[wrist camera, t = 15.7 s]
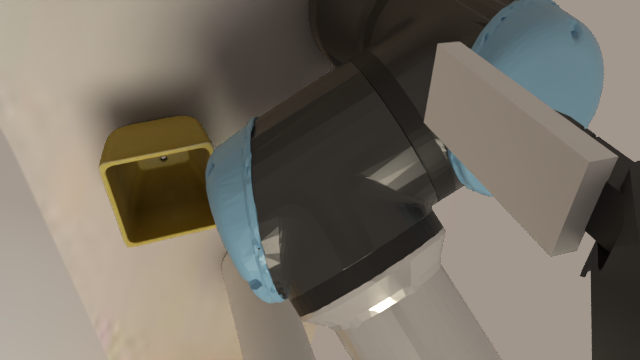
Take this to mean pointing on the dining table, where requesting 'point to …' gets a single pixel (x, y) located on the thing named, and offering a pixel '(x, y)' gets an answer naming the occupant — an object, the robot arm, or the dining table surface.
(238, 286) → the spray bottle
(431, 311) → the robot arm
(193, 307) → the dining table surface
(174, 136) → the flower pot
